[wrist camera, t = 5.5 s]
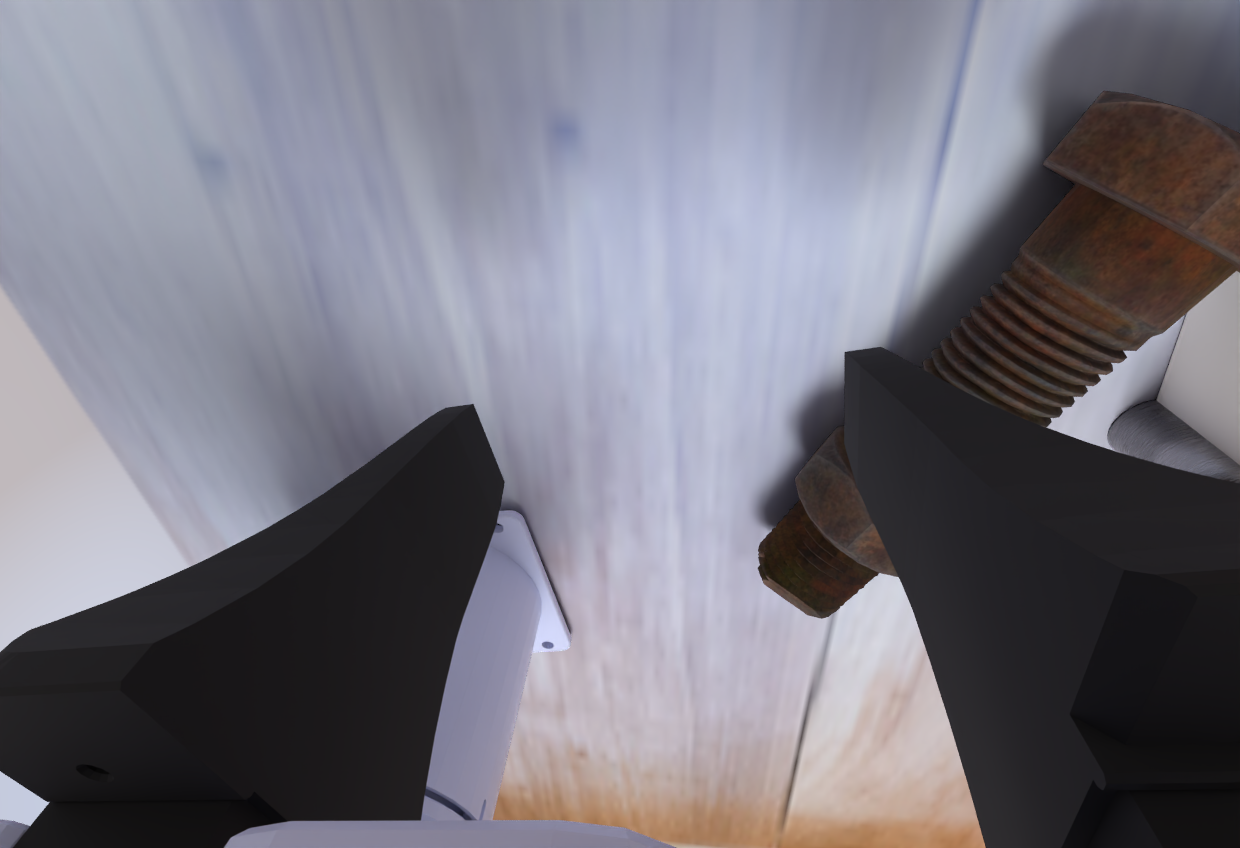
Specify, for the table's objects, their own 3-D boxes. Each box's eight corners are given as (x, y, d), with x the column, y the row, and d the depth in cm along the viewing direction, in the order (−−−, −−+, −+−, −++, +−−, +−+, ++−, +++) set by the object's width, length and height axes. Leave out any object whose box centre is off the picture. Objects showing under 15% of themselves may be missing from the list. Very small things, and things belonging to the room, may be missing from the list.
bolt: (761, 498, 23) (1090, 105, 14) (870, 587, 22) (1305, 213, 13) (697, 575, 18) (1123, 67, 10) (831, 693, 17) (1458, 228, 8)
